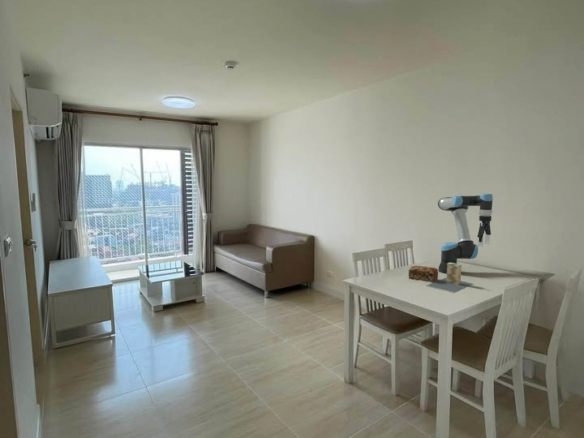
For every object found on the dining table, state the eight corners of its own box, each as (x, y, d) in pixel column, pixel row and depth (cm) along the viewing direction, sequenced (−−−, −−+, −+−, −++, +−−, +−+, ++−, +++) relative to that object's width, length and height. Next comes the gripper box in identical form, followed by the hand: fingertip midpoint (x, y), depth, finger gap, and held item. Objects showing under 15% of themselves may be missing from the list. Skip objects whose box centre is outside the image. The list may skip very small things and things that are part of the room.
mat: (426, 286, 235) (426, 285, 235) (445, 278, 252) (445, 277, 252) (455, 293, 219) (455, 292, 219) (473, 284, 237) (473, 283, 237)
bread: (438, 280, 248) (438, 267, 247) (432, 283, 241) (432, 270, 240) (414, 275, 261) (414, 263, 260) (407, 278, 254) (407, 265, 253)
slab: (446, 282, 241) (447, 263, 239) (449, 281, 243) (449, 262, 242) (457, 285, 235) (458, 265, 233) (460, 283, 237) (461, 264, 236)
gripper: (485, 217, 227) (483, 248, 230) (496, 214, 244) (495, 243, 247) (473, 216, 233) (471, 246, 235) (485, 213, 250) (483, 241, 253)
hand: (483, 245), depth 241 cm, fingers open, 13 cm apart
